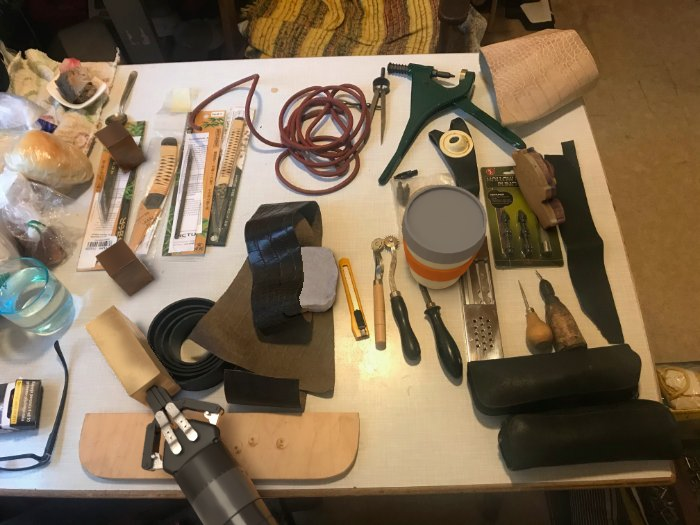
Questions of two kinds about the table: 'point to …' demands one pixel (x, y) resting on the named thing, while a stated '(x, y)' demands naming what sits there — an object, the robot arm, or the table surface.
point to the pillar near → (125, 267)
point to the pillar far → (120, 146)
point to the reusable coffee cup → (442, 234)
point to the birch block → (129, 354)
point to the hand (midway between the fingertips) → (152, 389)
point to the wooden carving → (538, 186)
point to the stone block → (318, 279)
